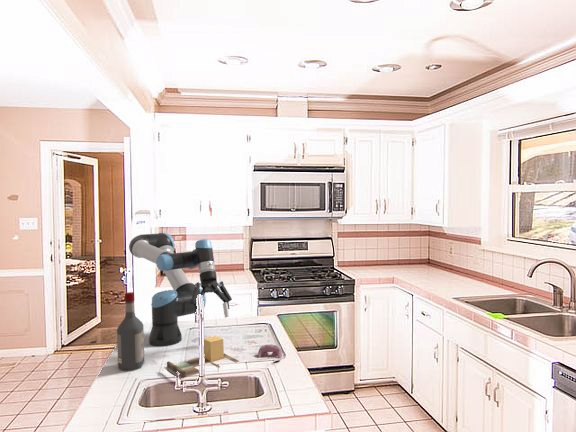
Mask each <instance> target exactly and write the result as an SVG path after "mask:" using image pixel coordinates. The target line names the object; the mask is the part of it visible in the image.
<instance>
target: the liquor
mask: <svg viewBox="0 0 576 432" xmlns="http://www.w3.org/2000/svg"><path fill="white" fill-rule="evenodd" d="M124 303H125V305H124V306H125V316H124V318H123V319H122V321H121V322H120V324H119V325H118V327H117V329H116V338H117V344H116V345H117V368H118V369H119V370H120V371H126V372H127V371H137V370H139V369H141V368H142V366H143V365H144V363H145V334H144V333H145V332H144V324H143V321H141V320H140V319H139V318H138V317H137V316H136V313H135V292H131V291H130V292H125V293H124Z"/></svg>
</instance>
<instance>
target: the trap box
mask: <svg viewBox="0 0 576 432" xmlns="http://www.w3.org/2000/svg"><path fill="white" fill-rule="evenodd" d="M199 358H200V357H198V358H195V359H192V360H191V359H190V360H188V361H184V362H181V363H176V364H174V363H173V362H171V361H166V368H168V369H166V371H167V372H168V373H169V374H171V375H173V377H175V376H177V375H176V372H177V371H178V372H179V373H180V376H179V377H180V378H181V379H184V378H187V377H190V376H194V375H197V374H198V375H199V374H200V373H199V370H200V369H198V368H196V367H198V366H200V365H199ZM225 359H228V360H230V361H231V362H234V363H239V362H240V360H238V359H236V358H234V357H232V356H230V355H228V354H226V353H224V358H222V359H218V360H215V361H209V360H207V359H205V364H209V363H210V364H211V365H212V366H214V367H216V368H221V366H220V365H218V364H217V363H214V362H218V361H220V360H225ZM205 364H204V365H205ZM170 370H171V371H170ZM174 373H175V374H174Z"/></svg>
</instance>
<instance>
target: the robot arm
mask: <svg viewBox="0 0 576 432" xmlns="http://www.w3.org/2000/svg"><path fill="white" fill-rule="evenodd" d="M175 245H176V244H175V240H174V238H173V236H172V235H171V234H169V233H166V232H158V233H146V234H139V235H136V236H134V237H133V238H132V239H131V240H130V242H129V244H128V249H129V253H130V254H131V255H132V256H134V257H136V258H137V259H145V260H147V261H149V262H150V263H154V264H156V267H157V269H158V270H159V271H161V272H163V273H164V275H165V277H166V279H167V280H168V282H169V284H170V286H171V288H172V289H167V290H162V291H159V292H156V293H154V295H152V297H151V304H150V305H151V322H152V326H151V329H150V333H149V336H148V343H149V345H151V346H154V347H155V346H156V347H158V346H159V347H164V346H167V347H168V346H171V345H176V344H178V343H180V342H181V341H182V339H183V338H182V337H183V336H182V332H181V330H180V329H181V328H180V327H179V324H178V322H179V321H178V318H179V317H184V316H188V315H193V314H194V315H195V314H196V313H195V312H196V309H197V306H196V298H197V295H198V294H201V295H203V301H204V308H205V307H206V299H207V297H206V294H207V293H214V294H216V296H217V297H218V298H219V299H220V300H221V301H222V302H223V303H222V307H223V315H224V319H225V318H226V319H227V318H228V317H230V312H229V310H230V302H231V301H232V299H233V298H232V296H231V295H230V293H229V291H228V290H227V288H226V287H225V284H224V281H219V282H218V281H217V279H218V278H217V271H216V264H215V258H214V251H213V245H212V241H211V240H210V239H207V238H206V239H205V238H204V239H198V240H196V241H195V246H194V247H195V249H193V250H192V251H184V252H183V251H182V252H176V253H174V252H175ZM197 267H198V273H199V281H200V282H199V281H198V282H196V283H192V282H190V281H189V279H188V277H187V276H186V274H185V272H184V270H183V269H188V270H193V269H196V268H197Z"/></svg>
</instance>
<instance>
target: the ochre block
mask: <svg viewBox="0 0 576 432" xmlns="http://www.w3.org/2000/svg"><path fill="white" fill-rule="evenodd" d="M203 339H204V346H203V355H204V354H205V359H207V360H209V361H213V362H216V361H215V360H217V361H219V360H218V359H221V360H223V359H222V358H224V354H225V353H224V350H225V349H224V338H222V337H220V336H217V335H213V336H209V337H204V338H203ZM224 359H225V358H224Z"/></svg>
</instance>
